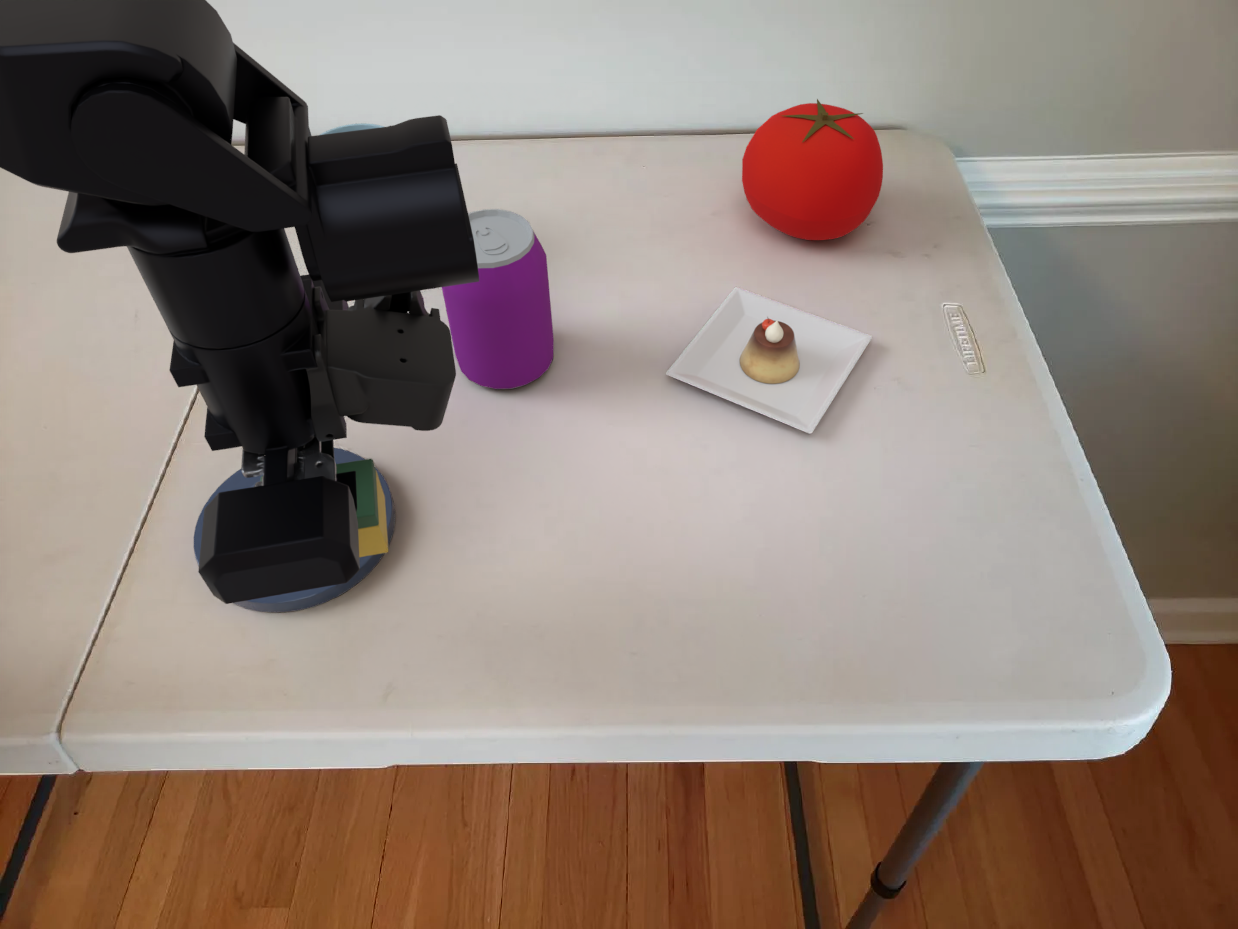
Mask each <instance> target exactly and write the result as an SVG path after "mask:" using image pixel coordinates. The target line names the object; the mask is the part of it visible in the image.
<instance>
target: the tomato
mask: <svg viewBox="0 0 1238 929" xmlns="http://www.w3.org/2000/svg"><path fill="white" fill-rule="evenodd" d="M863 114H864V112H860V113H859V112H857V113H856V112H853V111H852V110H849V109H846V108H844V107H841V106H836V105H832V104H826V103H821V101H820V100H819V98H816V103H815V102H807V103H800V104H797V105H794V106H791V107H788V108H786V109H783V110H781V111H778V112H777V113H775V114H773V115H771V116H770V117H769V118H768V119H767V120H766V121H765V122H764V123H762V125H760V126H759V127H758V128H756V130H755V132H754V134H753V135H752V137H751V138H750V140H749V142H748V144H747V145H746V147H745V150H744V154H743V156H742V160H741V161H742V162H741V163H742V164H741V165H742V166H741V168H742V169H741V183H742V187H743V193H744V195H745V198H746V201H747V202H748V204H749V206H750V208H751V210H752V211H753V212H754V213H755V214H756V216H758V217H759V218H760V219H762V221H764V222H765V223H766V224H768V225H769V226H770V227H772V228H774V229H775V230H777V231H779V232H781V233H783V234H785V235H788V236H790V237H792V238H793V237H794V238H796V239H800V240H806V241H807V240H808V241H825V240H833V239H834V240H835V239H837V238H842V237H844V236H846V235H848V234H850V233H851V232H853V231H854V230H856V229H857V228H858V227H859V226H861V225H862V224H863V223H864V222H865V221H866V219H867V218H868V216H869V215H870V214H871V212H872V210H873V209H874V207H875V205H876V203H877V201H878V199H879V197H880V194H881V190H882V186H883V178H884V160H883V153H882V148H881V145H880V142H879V138H878V136H877V133H876V130H875V129H874V128H873V126H871V125H870V124H869V123H868V122H867V121H866V120H865V119H864V118H863V117H861V116H860V115H863Z"/></svg>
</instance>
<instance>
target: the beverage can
mask: <svg viewBox="0 0 1238 929" xmlns="http://www.w3.org/2000/svg"><path fill="white" fill-rule="evenodd" d="M468 216H469V220H470V225H471V229H472V234H473V239H474V244H475V251H476V258H477V265H478V272H479V282H473V283H466V284H460V285H453V286H447V287H441V291H442V296H443V299H444V300H443V301H444V306H445V312H446V316H447V321H448V327H449V330H450V334H451V341H452V347H453V352H454V356H455V358H456V361H457V364H458V367H459V369H460V372H461V373H462V374H463V375H464V376H465V377H466V378H467V379H468V380H469V381H471V382H473V383H475V384H476V385H478V386H481V387H484V388H489V389H494V390H512V389H517V388H521V387H524V386H527V385H528V384H530V383H533V381H535V380H537V379H539V378H540V377H542V375H544V373H546V372H547V371H548V370H549V368H550V366H551V364H552V362H553V360H554V348H555V347H554V346H555V338H554V328H553V318H552V306H551V303H552V302H551V295H550V294H551V293H550V282H549V272H548V271H549V270H548V269H549V268H548V261H547V260H548V258H547V254H546V252H545V248H543V246H542V243H541V242H540V240H539V238H538V236H537V235H536V233H535V231H534V228H533V227H532V225H531V223H530V221H529V220H528V219H526V217H524V216H523V215H521V214H518V213H517V212H514V211H512V210H507V209H501V208H484V209H479V210H474V211H471V212H468Z"/></svg>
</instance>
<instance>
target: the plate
mask: <svg viewBox="0 0 1238 929" xmlns="http://www.w3.org/2000/svg"><path fill="white" fill-rule="evenodd" d="M334 459H335V463H336V464H340V463H346V462H353V461H359V460H365V459H366V458H364V457H363V456H361V455H359V454H357V453H355V452H352V451H349V450H347V449H343V448H339V447H334ZM264 462H265V461H264ZM375 469H376V471H377V474H378V477H379V480H380V483H381V487H382V490H383V493H384V496H385V507H386V523H387V538H388V547H389V546H390V543H391V541H392V538H393V535H394V532H395V526H396V507H395V501H394V498H393V495H392V492H391V490H390V487H389V484H388V481H387V480H386V478H385V477H384V475H383V474H382V473H381V471H380V470H379V469H378V467H376V466H375ZM261 476H263V475H261ZM261 476H257V477H250V478H246V477H244V475H243V473H242V471H241V468H239V469H238V470H236V471H235V472H234V473H232V474H231V475H230V476H229V477H228V478H226V479H225V480H224V481H223V482H222V483H221V484H220V485H219V486H218V487H217V488H216V489H215V490H214V492H213V493H212V494H210V496H209V497H208V499H207V501H206V502H205V504H204V505H203V507H202V509H201V511H200V513H199V515H198V518H197V520H196V524H195V527H194V533H193V553H194V558H195V561H196V564H197V566H198V567H199V560H200V549H201V539H202V528H203V518H204V509H205V508H206V507H207V505H208V504H209V503H210V502H211V501H212V500H213V499H214V498H215V496H216V495H217V494H218V493H220V492H226V491H232V490H238V489H244V488H250V487H255V484H256V483H257V482H260V479H261ZM384 555H385V553H381V554H375V555H370V556H364V557H359V562H360V570H359V571H358V572H357V573H356V574H355V575H354V576H353V577H352V578H351V579H350V580H349V581H348V582H347V583H343V584H337V585H332V586H326V587H320V588H315V589H309V590H303V591H298V592H292V593H286V594H281V595H275V596H269V597H263V598H258V599H252V600H246V601H241V602H235V603H233V605H236V606H239V607H241V608H244V609H247V610H251V611H256V612H261V613H263V612H264V613H290V612H296V611H301V610H307V609H310V608H314V607H316V606H319V605H322V604H325V603H327V602H329V601H331V600H333V599H336V598H338V597H340V596H341V595H343V594H344V593H346V592H348V591H350V590H351V589H353V587H355V586H356V585H357V584H359V583H360V582H362V581H363V580H364V579H365V578H366V577H367V576H368V575H369V574H370V573H371V572H372V571H373V570H374V569H375V567H376V566H377V565H378V564H379V562H381V559H382V558H383V556H384Z"/></svg>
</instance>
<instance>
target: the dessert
mask: <svg viewBox="0 0 1238 929" xmlns="http://www.w3.org/2000/svg"><path fill="white" fill-rule="evenodd" d="M872 338H873V335H872V334H868V333H866V332H863V331H861V330H857V329H855V328H852V327H850V326H847V325H844V324H840V323H838V322H835V321H833V320H830V319H827V318H824V317H822V316H819V315H816V314H813V313H811V312H808V311H806V310H803V309H800V308H797V307H795V306H792V305H789V304H786V303H784V302H781V301H779V300H775V299H773V298H770V297H767V296H764V295H762V294H759V293H756V292H753V291H751V290H748V289H745V288H742V287H741V286H735V287H734V288H733V289H732V290H731V291H730V293H729V294H728V295H727V297H726V298H725V299H724V300H723V301H722V303H721V304H720V305H719V306H718V308H717V309H716V310H715V312H713V314H712V315H711V316H710V318H709V319H708V320H707V321H706V323H705V324H704V325H703V326H702V327H701V329H700V330H699V331H698V332H697V333H696V335H695V336H694V337H693V339H692V340H691V341H690V342H689V343H688V345H687V346H686V348H685V349H684V350H683V351H682V352H681V354H679V356H678V357H677V358H676V360H675V361H674V362H673V363H672V365H671V366H670V367H669V368H668V370H667V371H666V372H665V375H667V376H669V377H671V378H674V379H676V380H678V381H681V382H683V383H685V384H688V385H691V386H693V387H695V388H698V389H700V390H702V391H705V392H707V393H710V394H711V395H715V396H717V397H720V398H722V399H724V400H727V401H728V402H731V403H734V404H736V405H738V406H742V407H743V408H745V409H748V410H751V411H753V412H756V413H758V414H760V415H763V416H765V417H768V418H770V419H773V420H776V421H777V422H780V423H783V424H785V425H787V426H789V427H792V428H795V429H797V430H799V431H801V432H804V433H806V434H813V432H814V431H815V429H816V428H817V426H818V424H819V423H820V421H821V420H822V418H823V417H824V415H825V413H826V411H827V410H828V409H829V407H830V405H831V404H832V402H833V400H834V399H835V398H836V396H837V394H838V393H839V391H840V390H841V388H842V386H843V385H844V383H845V382H846V380H847V379H848V377H849V375H850V373H851V372H852V370H853V369H854V367H855V366H856V364H857V362H858V361H859V359H861V356H862V354H863V353H864V351H865V350H866V348H867V347H868V345H869V343H870V342H871V340H872Z"/></svg>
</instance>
